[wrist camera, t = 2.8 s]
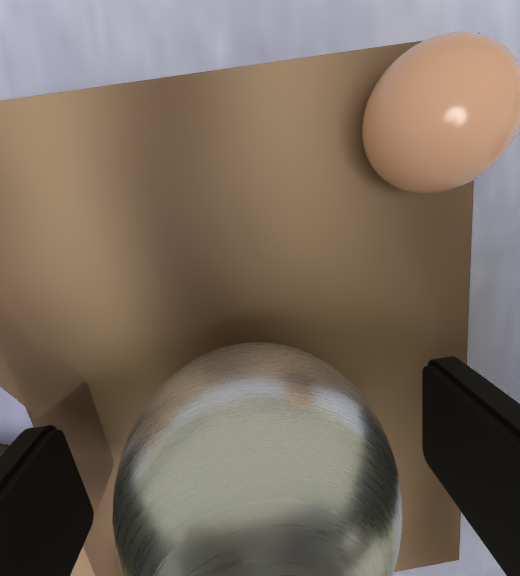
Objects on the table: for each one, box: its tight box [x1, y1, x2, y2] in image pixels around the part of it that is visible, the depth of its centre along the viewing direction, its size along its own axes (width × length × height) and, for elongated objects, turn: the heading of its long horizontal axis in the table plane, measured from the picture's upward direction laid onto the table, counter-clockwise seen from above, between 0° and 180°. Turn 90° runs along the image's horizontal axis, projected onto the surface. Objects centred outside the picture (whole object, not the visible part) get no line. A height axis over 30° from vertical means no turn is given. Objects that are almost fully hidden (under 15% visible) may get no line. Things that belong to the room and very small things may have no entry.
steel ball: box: [112, 342, 402, 576], centre depth 7 cm, size 6×6×6 cm
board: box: [0, 41, 474, 576], centre depth 12 cm, size 24×18×4 cm
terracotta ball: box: [362, 32, 520, 194], centre depth 7 cm, size 3×3×3 cm
